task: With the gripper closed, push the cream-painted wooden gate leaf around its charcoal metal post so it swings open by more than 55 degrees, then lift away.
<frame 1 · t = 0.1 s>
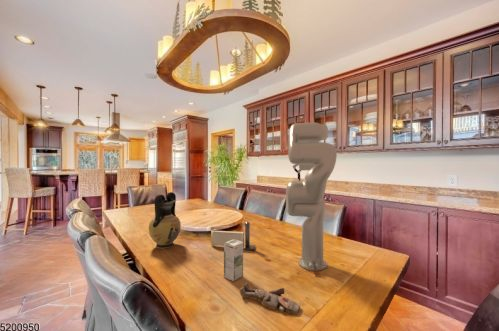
hand: (308, 180, 127), 37 cm above the table, tool pointing down, fingers open, 9 cm apart
gate leaf: (227, 239, 126), point 5 cm above the table, hinge at 0.0°
gate post: (247, 248, 124), on the table
figurine: (269, 304, 76), on the table
amphora: (165, 246, 128), on the table
syrup box: (233, 277, 93), on the table
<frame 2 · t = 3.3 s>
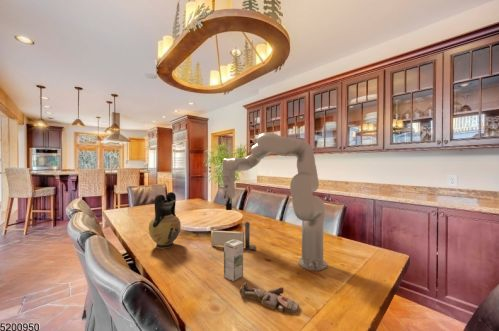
hand: (228, 209, 135), 19 cm above the table, tool pointing down, fingers closed
nothing on the table moved.
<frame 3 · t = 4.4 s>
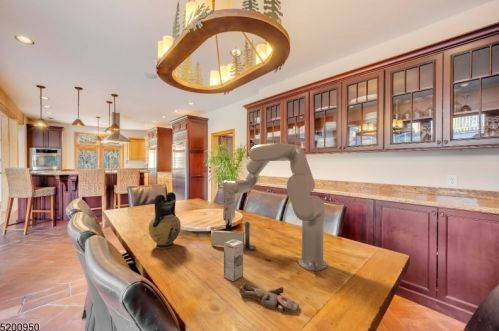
hand: (228, 231, 135), 6 cm above the table, tool pointing down, fingers closed
nothing on the table moved.
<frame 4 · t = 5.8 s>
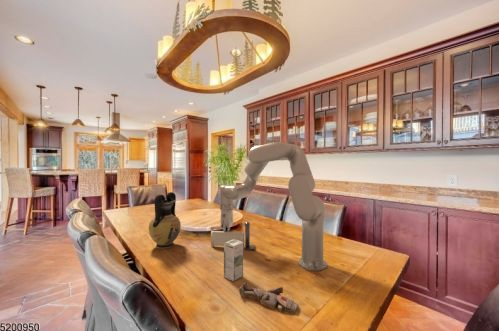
hand: (226, 238, 129), 4 cm above the table, tool pointing down, fingers closed
gate leaf: (227, 239, 125), point 5 cm above the table, hinge at 2.0°, touching gripper
everything else where it was.
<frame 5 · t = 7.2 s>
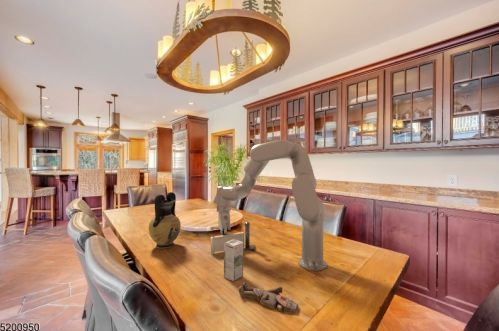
hand: (223, 241, 123), 4 cm above the table, tool pointing down, fingers closed
gate leaf: (228, 242, 120), point 5 cm above the table, hinge at 36.9°, touching gripper
everything else where it was.
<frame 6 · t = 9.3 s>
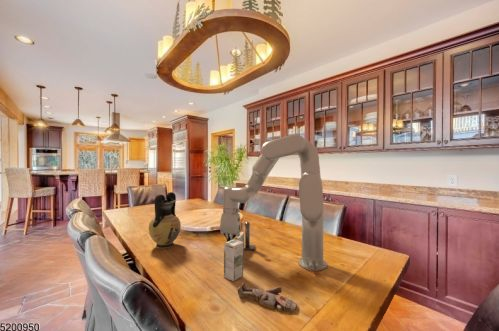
hand: (230, 246, 116), 4 cm above the table, tool pointing down, fingers closed
gate leaf: (237, 245, 116), point 5 cm above the table, hinge at 86.1°, touching gripper
everything else where it was.
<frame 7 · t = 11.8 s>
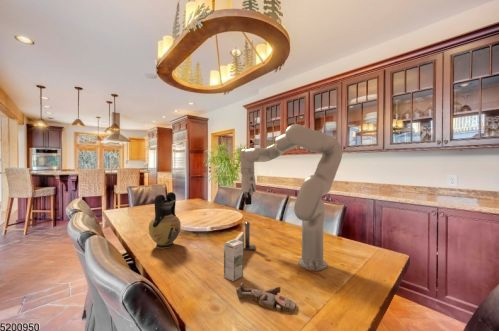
hand: (248, 204, 125), 24 cm above the table, tool pointing down, fingers closed
gate leaf: (237, 245, 116), point 5 cm above the table, hinge at 86.2°
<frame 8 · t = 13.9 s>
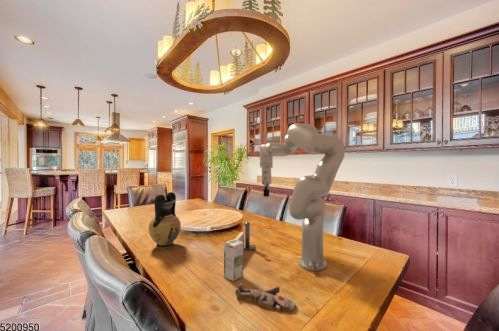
hand: (266, 196, 133), 27 cm above the table, tool pointing down, fingers closed
at the end: gate leaf at +86° (first picture: +0°) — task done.
